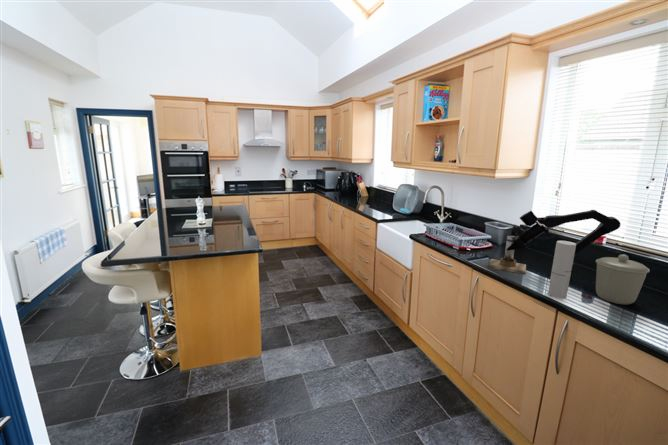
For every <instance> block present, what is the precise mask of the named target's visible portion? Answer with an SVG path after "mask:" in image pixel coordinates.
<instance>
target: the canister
mask: <svg viewBox="0 0 668 445" xmlns="http://www.w3.org/2000/svg"><path fill="white" fill-rule="evenodd" d="M595 263H596V273H595V274H596V275H595V291H596V295H597V296H598V297H599V298H600V299H601V300H604V301H607V302H609V303H614V304H616V305H631V304H634V303H635V301H636V300H637V298H638V296H639V294H640V291H641V289H642V287H643V284H644V281H645V279H646V277H647V274H649V273H650V268H648V267H647V265H646V266H645V265H644V264H643V263H640V262H638V261H635V260H630V259H629V256H628V255H627V254H619V255H618V257H613V256H611V257H610V256H605V257H600V258H597V259H595Z"/></svg>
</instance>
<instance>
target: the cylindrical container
mask: <svg viewBox="0 0 668 445" xmlns="http://www.w3.org/2000/svg"><path fill="white" fill-rule="evenodd" d="M555 243H556V244H555V248H554V256H553V260H552V266H551V273H550V280H549V284H548V289H547V290H548V292H547V294H548V296H550V297H552V296H553V298H556V299H561V300H563V299H567V296H568V291H569V284H570V281H571V280H570V275H571V270H572V265H573V263H574V258H575V257H574V254H575V248H576V243H577V242H572V241H567V240H557V241H556V242H555Z"/></svg>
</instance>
